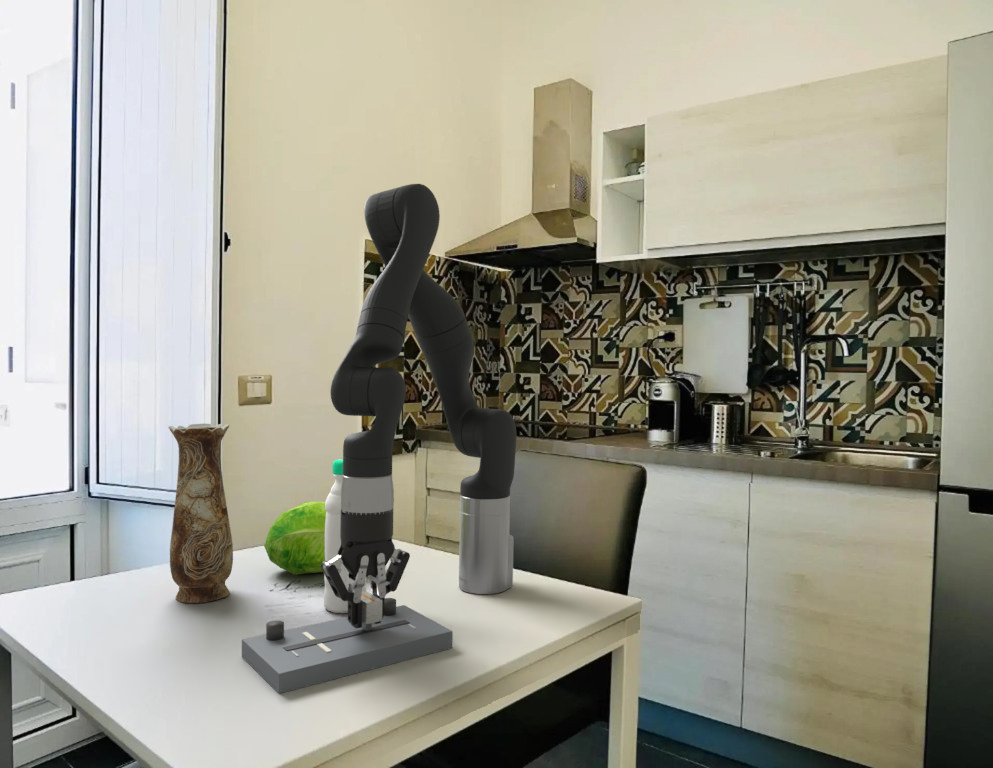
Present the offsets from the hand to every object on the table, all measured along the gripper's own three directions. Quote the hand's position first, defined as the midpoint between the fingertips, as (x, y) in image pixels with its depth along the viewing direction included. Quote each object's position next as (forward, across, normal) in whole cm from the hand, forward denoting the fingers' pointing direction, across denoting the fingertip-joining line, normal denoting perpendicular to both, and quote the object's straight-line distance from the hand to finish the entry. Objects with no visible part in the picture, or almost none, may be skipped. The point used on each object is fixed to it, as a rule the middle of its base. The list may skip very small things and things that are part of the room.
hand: (365, 623), depth 107 cm
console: (+4, +3, 0) cm, 4 cm away
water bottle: (+4, -5, -18) cm, 19 cm away
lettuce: (+4, -10, -41) cm, 42 cm away
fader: (+1, 0, 0) cm, 1 cm away
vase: (+4, +13, -38) cm, 40 cm away
